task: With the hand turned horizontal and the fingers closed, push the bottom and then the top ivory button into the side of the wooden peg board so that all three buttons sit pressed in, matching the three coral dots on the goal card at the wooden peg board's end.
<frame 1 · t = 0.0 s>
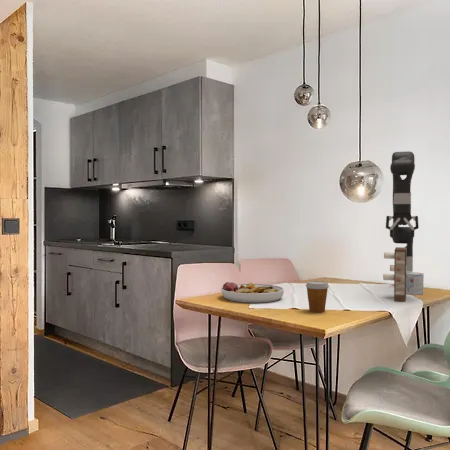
hand: (401, 238, 225), 29 cm above the table, tool pointing down, fingers open, 8 cm apart
bottom button: (391, 277, 233), point 10 cm above the table, slide at 0.0 cm
light bulb box: (410, 293, 247), on the table
top button: (392, 255, 238), point 20 cm above the table, slide at 0.0 cm
wooden peg board: (400, 298, 232), on the table
middle button: (398, 268, 228), point 15 cm above the table, slide at 3.2 cm
disposable coffee cup: (317, 311, 203), on the table
bowl: (252, 299, 234), on the table
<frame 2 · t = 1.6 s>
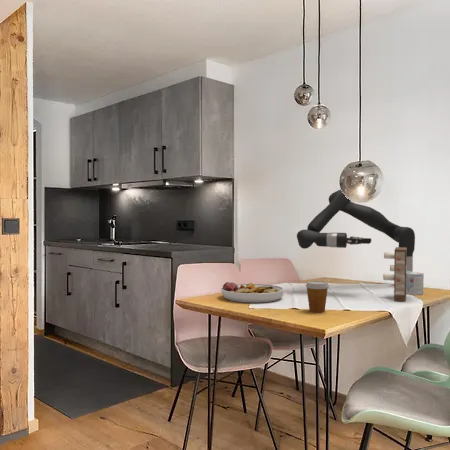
hand: (370, 241, 238), 27 cm above the table, tool horizontal, fingers open, 7 cm apart
nothing on the table moved.
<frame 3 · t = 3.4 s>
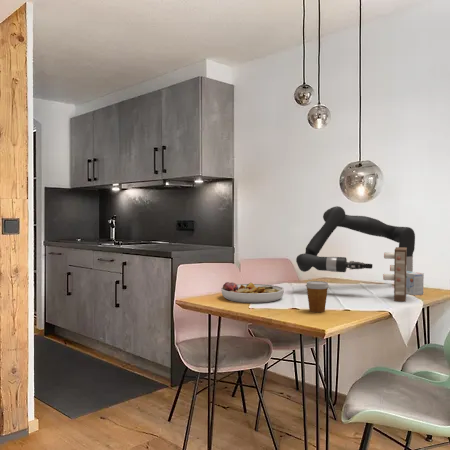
hand: (372, 266, 237), 15 cm above the table, tool horizontal, fingers closed
nothing on the table moved.
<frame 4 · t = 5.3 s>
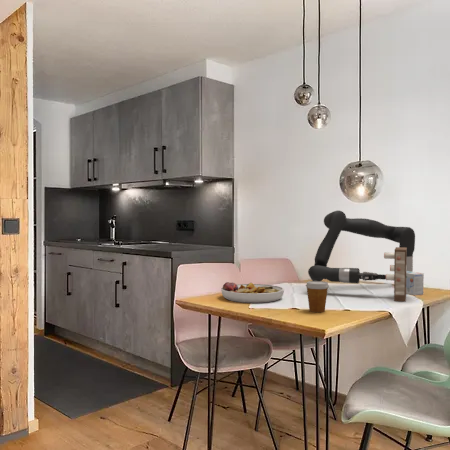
hand: (385, 277, 235), 10 cm above the table, tool horizontal, fingers closed
bottom button: (393, 277, 233), point 10 cm above the table, slide at 1.1 cm, touching gripper
everything else where it was.
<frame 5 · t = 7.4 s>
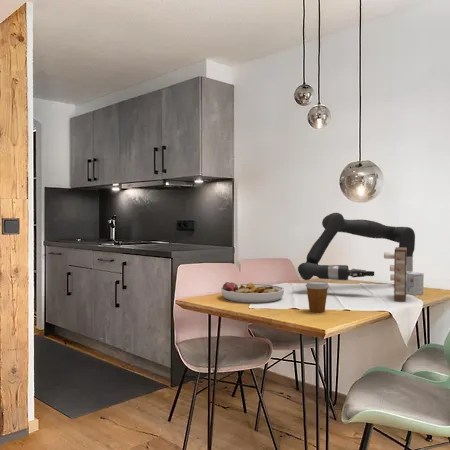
hand: (374, 273, 237), 11 cm above the table, tool horizontal, fingers closed
bottom button: (398, 277, 232), point 10 cm above the table, slide at 3.3 cm
everything else where it was.
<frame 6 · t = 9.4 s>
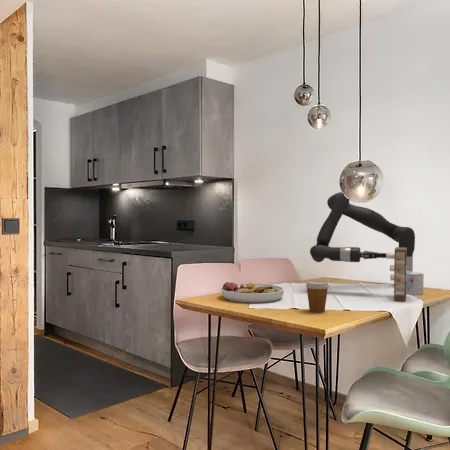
hand: (386, 255, 239), 20 cm above the table, tool horizontal, fingers closed
top button: (394, 255, 238), point 20 cm above the table, slide at 0.9 cm, touching gripper
everything else where it was.
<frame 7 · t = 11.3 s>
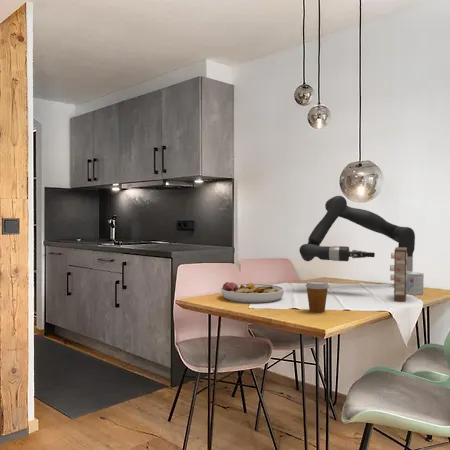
hand: (374, 254, 241), 20 cm above the table, tool horizontal, fingers closed
top button: (399, 255, 237), point 20 cm above the table, slide at 3.3 cm
everything else where it was.
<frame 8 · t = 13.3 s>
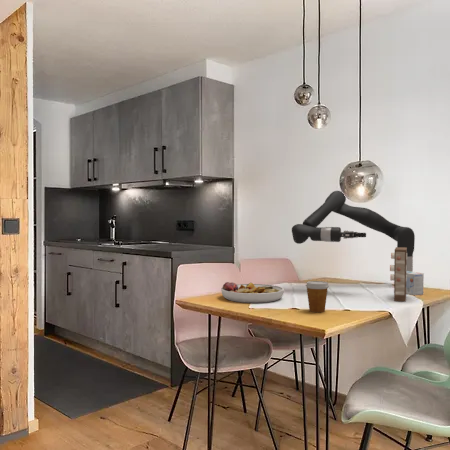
hand: (365, 235, 241), 30 cm above the table, tool horizontal, fingers closed
nothing on the table moved.
at the end: bottom button slide at 3.3 cm; top button slide at 3.3 cm; middle button slide at 3.2 cm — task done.
